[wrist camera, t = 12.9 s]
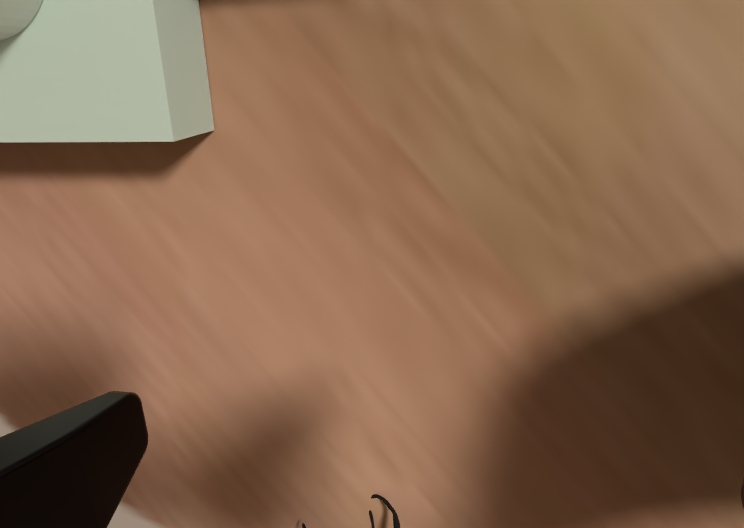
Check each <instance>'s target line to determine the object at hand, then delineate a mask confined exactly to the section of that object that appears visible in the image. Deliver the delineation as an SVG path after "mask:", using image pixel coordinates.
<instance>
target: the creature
mask: <svg viewBox="0 0 744 528" xmlns="http://www.w3.org/2000/svg"><path fill="white" fill-rule="evenodd" d="M372 498H379V499H381V500H383V502H384V503H385V504H386V505H387V507H388V508H389V509H390V510H391V512H392V513H393V523H394V528H400V523H399V519H398V516H397V514H396V512H395V510H394V509H393V507H392V506H391V505H390V503H389V502H388V501H387V500H386V499H385V498H383V497H382V496H379V495H375V494H374V495H372V497H371V499H372ZM369 515H370V518H371V522H372V528H374V521H373V515H372V512H371V510H370V511H369ZM302 527H303V528H306V526H305V524H304V523H303V524H302Z"/></svg>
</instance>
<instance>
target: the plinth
mask: <svg viewBox="0 0 744 528" xmlns="http://www.w3.org/2000/svg"><path fill="white" fill-rule="evenodd" d="M210 131H214V123H213V115H212V107H211V99H210V90H209V82H208V74H207V66H206V58H205V50H204V42H203V34H202V26H201V18H200V9H199V1H198V0H43V1H42V3H41V5H40V7H39V9H38V11H37V13H36V14H35V16H34V17H33V19H32V20H31V21H30V23H29V24H28V25H27V26H26V27H25V28H24V29H22V30H21V31H20V32H19V33H17V34H15V35H14V36H12V37H10V38H8V39H5V40H2V41H0V142H174V141H178V140H181V139H185V138H189V137H192V136H196V135H199V134H203V133H206V132H210Z"/></svg>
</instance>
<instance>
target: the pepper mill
mask: <svg viewBox="0 0 744 528" xmlns="http://www.w3.org/2000/svg"><path fill="white" fill-rule="evenodd" d="M42 1H43V0H0V41H2V40H5V39H8V38H10V37H12V36H14V35H15V34H17V33H19V32H20V31H21V30H22V29H24V28H25V27H26V26H27V25H28V24H29V23H30V21H31V20H32V19H33V17H34V16H35V14H36V13H37V11H38V9H39V7H40V5H41V3H42Z"/></svg>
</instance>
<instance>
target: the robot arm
mask: <svg viewBox="0 0 744 528" xmlns="http://www.w3.org/2000/svg"><path fill="white" fill-rule="evenodd" d="M147 444H148V432H147V427H146V422H145V417H144V413H143V408H142V403H141V399H140V398H139V396H138V395H137V394H135V393H132V392H119V391H112V392H108V393H106V394H104V395H101V396H99V397H96V398H94V399H92V400H89V401H87V402H84V403H82V404H80V405H77V406H75V407H72V408H70V409H67V410H65V411H63V412H60V413H58V414H55V415H53V416H51V417H48V418H46V419H43V420H41V421H39V422H36V423H34V424H31V425H29V426H27V427H24V428H22V429H19V430H17V431H15V432H12V433H10V434H7V435H5V436H2V437H0V528H107V526H108V524H109V522H110V520H111V518H112V516H113V514H114V512H115V511H116V509H117V507H118V505H119V503H120V501H121V499H122V497H123V495H124V493H125V491H126V489H127V487H128V485H129V483H130V481H131V479H132V477H133V475H134V473H135V471H136V469H137V467H138V465H139V463H140V461H141V459H142V457H143V455H144V453H145V451H146V448H147ZM741 498H742V504H743V508H744V479H743V484H742V489H741Z"/></svg>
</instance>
